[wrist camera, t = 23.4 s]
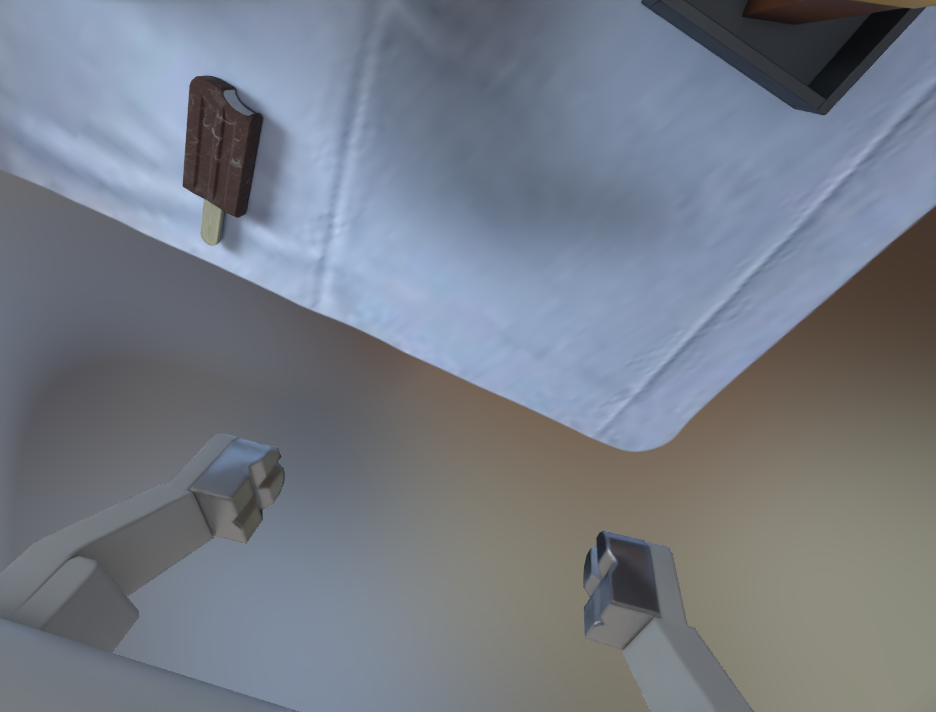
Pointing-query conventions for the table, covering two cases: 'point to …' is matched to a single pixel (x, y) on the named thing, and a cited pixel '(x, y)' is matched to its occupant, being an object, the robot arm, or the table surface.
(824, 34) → the tray
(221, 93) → the ice cream bar
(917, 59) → the table surface
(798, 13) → the chocolate box
